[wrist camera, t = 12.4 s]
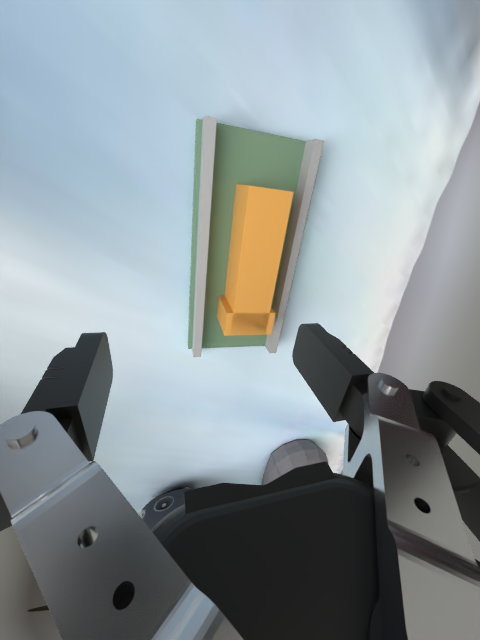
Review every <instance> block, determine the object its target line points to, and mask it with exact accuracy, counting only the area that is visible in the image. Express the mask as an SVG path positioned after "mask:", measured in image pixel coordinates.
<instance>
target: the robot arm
mask: <svg viewBox="0 0 480 640" xmlns="http://www.w3.org/2000/svg"><path fill="white" fill-rule="evenodd" d="M293 362H294V364H295V366H296V368H297V369H298V371H299V372H300V373H301V375H302V376H303V378H304V379H305V381H306V382H307V384H308V385H309V387H310V388H311V390H312V391H313V393H314V394H315V396H316V397H317V398H318V400H319V401H320V403H321V404H322V406H323V407H324V409H325V410H326V412H327V413H328V415H329V416H330V418H331V419H332V421H333V422H336V421H342V420H346V421H347V423H348V424H347V426H346V429H345V444H344V463H343V473H342V474H337V473H333V472H332V470H331V469H330V467H329V465H328V463H327V461H325V462H320V463H315V464H311V465H306V466H301V467H296V468H294V469H292V470H291V471H289V472H287V473H285V474H284V475H282V476H280V477H278V478H277V479H275V480H273V481H271V482H270V483H268V484H266V485H247V484H231V483H221V484H216V485H212V486H207V487H202V488H197V489H193V490H188V491H184V505H182V506H180V507H178V508H177V509H175V510H173V511H172V512H171V513H169V514H168V515H166V516H165V517H164V518H163V519H162V520H161V521H159V522H158V523H157V524H156V525H155V526H154V527H153V529H152V530H150V529H149V528H148V526H147V525H146V524H145V523H144V521H143V520H142V519H141V517H140V516H139V515H138V514H137V512H136V511H135V510H134V509H133V507H132V506H131V505H130V503H129V502H128V501H127V500H126V498H125V497H124V496H123V494H122V493H121V492H120V491H119V489H118V488H117V487H116V486H115V484H114V483H113V482H112V480H111V479H110V478H109V477H108V475H107V474H106V473H105V472H104V470H103V469H102V468H101V467H100V465H99V464H98V463H96V462H95V461H93V460H94V456H95V451H96V447H97V443H98V439H99V434H100V430H101V426H102V422H103V417H104V413H105V409H106V405H107V401H108V396H109V392H110V388H111V384H112V377H113V368H112V361H111V355H110V349H109V344H108V338H107V334H106V333H105V332H102V333H83V334H81V336H80V338H79V340H78V342H77V344H76V346H75V347H74V348H65V349H64V350H62V351H61V352H60V353H59V354H57V355H56V356H55V357H54V358H53V359H52V361H51V363H50V364H49V366H48V368H47V370H46V371H45V373H44V375H43V377H42V380H40V382H39V383H38V385H37V387H36V389H35V390H34V392H33V394H32V396H31V397H30V399H29V401H28V403H27V404H26V406H25V408H24V409H23V411H22V413H21V415H18V416H15V417H13V418H11V419H9V420H7V421H5V422H4V423H2V424H1V425H0V531H2V530H4V529H6V528H8V527H10V526H13V528H14V531H15V533H16V536H17V538H18V540H19V542H20V545H21V547H22V549H23V551H24V553H25V556H26V558H27V560H28V563H29V565H30V567H31V569H32V571H33V574H34V576H35V578H36V581H37V583H38V585H39V587H40V590H41V592H42V594H43V597H44V599H45V601H46V603H47V606H48V608H49V610H50V612H51V615H52V617H53V619H54V621H55V624H56V626H57V628H58V630H59V633H60V635H61V637H62V639H63V640H480V562H479V561H478V560H476V559H475V558H474V555H473V552H472V549H471V546H470V543H469V540H468V537H467V533H466V530H465V527H464V524H463V521H464V522H465V524H466V525H467V526H468V528H469V529H470V530H471V531H472V533H473V534H474V535H475V536H476V537H477V539H478V540H479V541H480V478H479V477H478V476H477V475H476V474H475V473H474V472H473V470H472V469H471V468H470V467H468V465H467V464H466V463H465V462H464V461H463V460H462V459H461V458H460V457H459V456H458V455H457V454H456V453H455V452H454V451H453V450H452V449H451V448H450V447H449V446H448V444H449V442H450V441H451V440H452V438H453V437H454V436H455V434H456V433H457V434H458V435H459V436H461V437H462V438H463V439H464V440H465V441H466V442H467V443H468V444H469V445H470V446H471V447H472V448H473V449H474V450H475V451H477V453H478V454H480V403H479V402H478V401H476V400H475V399H474V398H473V397H471V396H470V395H469V394H467V393H466V392H465V391H463V390H462V389H460V388H458V387H456V386H454V385H451V384H448V383H445V382H441V381H434V382H431V383H430V384H429V386H428V387H427V389H426V391H425V392H424V391H417V390H410V389H408V387H407V386H406V385H405V384H404V383H402V382H401V381H400V380H398V379H396V378H394V377H392V376H390V375H387V374H383V373H374V372H373V371H372V370H371V369H370V368H369V367H368V366H366V365H365V364H364V363H363V362H362V361H361V360H360V359H359V358H358V357H357V356H356V355H355V354H353V352H352V351H351V350H350V349H349V348H347V347H346V345H345V344H344V343H342V342H341V341H340V340H339V339H338V338H336V337H334V336H333V335H331V334H329V333H328V332H327V331H326V330H325V329H324V328H323V327H322V326H321V325H319V324H318V323H313V324H301V325H300V326H299V329H298V333H297V337H296V341H295V345H294V349H293ZM89 461H93V462H91V463H90V462H89ZM462 520H463V521H462Z"/></svg>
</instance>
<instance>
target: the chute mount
mask: <svg viewBox="0 0 480 640" xmlns="http://www.w3.org/2000/svg"><path fill="white" fill-rule="evenodd" d="M216 122H217V118H214V117H209V116H205V117H204V119H203V120H200V119H197V120H196V140H195V167H194V194H193V221H192V248H191V276H190V303H189V330H188V349H192V351H193V357H201V349H202V348H219V347H243V346H266V348H267V350H268V351H269V353H276V351H277V346H278V342H279V338H280V333H281V329H282V324H283V320H284V315H285V311H286V307H287V302H288V298H289V293H290V289H291V285H292V280H293V276H294V271H295V267H296V263H297V258H298V254H299V249H300V245H301V240H302V236H303V232H304V227H305V223H306V218H307V214H308V210H309V205H310V201H311V196H312V192H313V187H314V183H315V179H316V174H317V170H318V165H319V161H320V157H321V152H322V148H323V143H324V141H322V140H317V139H314V140H310V141H302V140H297V139H292V138H287V137H282V136H277V135H273V134H268V133H263V132H258V131H253V130H248V129H244V128H239V127H234V126H229V125H224V124H219V123H216ZM236 184H240V185H249V186H256V187H263V188H270V189H277V190H284V191H291V192H294V193H293V198H292V203H291V208H290V213H289V218H288V224H287V229H286V234H285V239H284V244H283V249H282V254H281V259H280V264H279V269H278V274H277V279H276V284H275V290H274V295H273V300H272V305H271V308H272V309H273V310H274V312H275V313H276V314H275V319H274V323H273V328H272V333H271V334H270V335H234V336H224V334H223V331H222V328H221V326H220V323H219V320H218V318H217V310H218V300H219V296H225V286H226V277H227V267H228V257H229V248H230V238H231V228H232V219H233V209H234V200H235V190H236Z"/></svg>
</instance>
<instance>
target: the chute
mask: <svg viewBox="0 0 480 640" xmlns="http://www.w3.org/2000/svg"><path fill="white" fill-rule="evenodd" d="M293 193H294V192H291V191H284V190H277V189H270V188H263V187H256V186H249V185H240V184H236V190H235V200H234V209H233V219H232V228H231V238H230V248H229V257H228V267H227V277H226V286H225V296H219V300H218V310H217V318H218V320H219V323H220V326H221V328H222V331H223V334H224V336H234V335H270V334H271V333H272V328H273V323H274V319H275V314H276V313H275V312H274V310H273V309H272V308H271V305H272V300H273V295H274V290H275V284H276V279H277V274H278V269H279V264H280V259H281V254H282V249H283V244H284V239H285V234H286V229H287V224H288V218H289V213H290V208H291V203H292V198H293Z"/></svg>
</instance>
